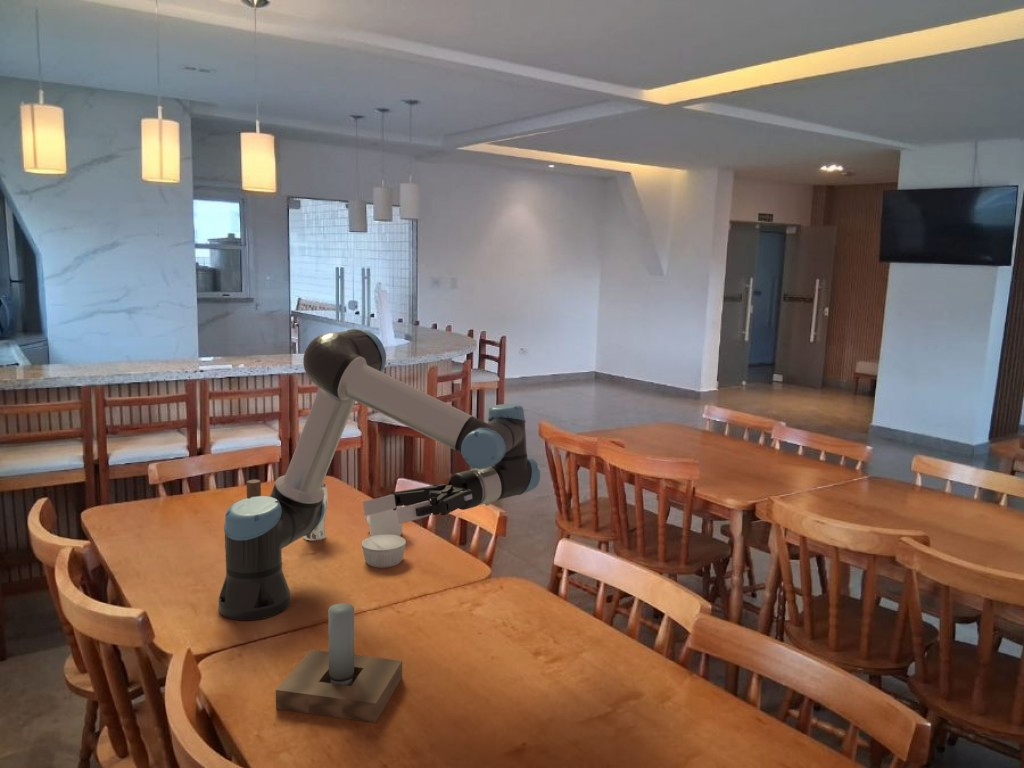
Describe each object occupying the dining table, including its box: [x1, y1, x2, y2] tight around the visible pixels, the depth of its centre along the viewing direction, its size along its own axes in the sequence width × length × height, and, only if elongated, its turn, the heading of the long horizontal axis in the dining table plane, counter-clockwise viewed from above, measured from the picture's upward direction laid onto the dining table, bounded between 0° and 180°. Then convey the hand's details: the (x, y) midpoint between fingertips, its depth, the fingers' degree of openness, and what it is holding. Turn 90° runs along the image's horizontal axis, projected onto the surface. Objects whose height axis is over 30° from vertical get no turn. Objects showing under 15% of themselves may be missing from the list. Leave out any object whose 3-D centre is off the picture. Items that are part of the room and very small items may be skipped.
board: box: [275, 649, 403, 724], centre depth 133 cm, size 18×14×4 cm
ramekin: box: [361, 535, 407, 569], centre depth 193 cm, size 11×11×5 cm
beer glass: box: [303, 482, 329, 542], centre depth 207 cm, size 7×7×15 cm
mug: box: [364, 506, 403, 537], centre depth 212 cm, size 12×9×9 cm
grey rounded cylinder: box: [327, 602, 355, 686], centre depth 132 cm, size 4×4×16 cm
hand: (380, 512), depth 139 cm, fingers open, 13 cm apart
